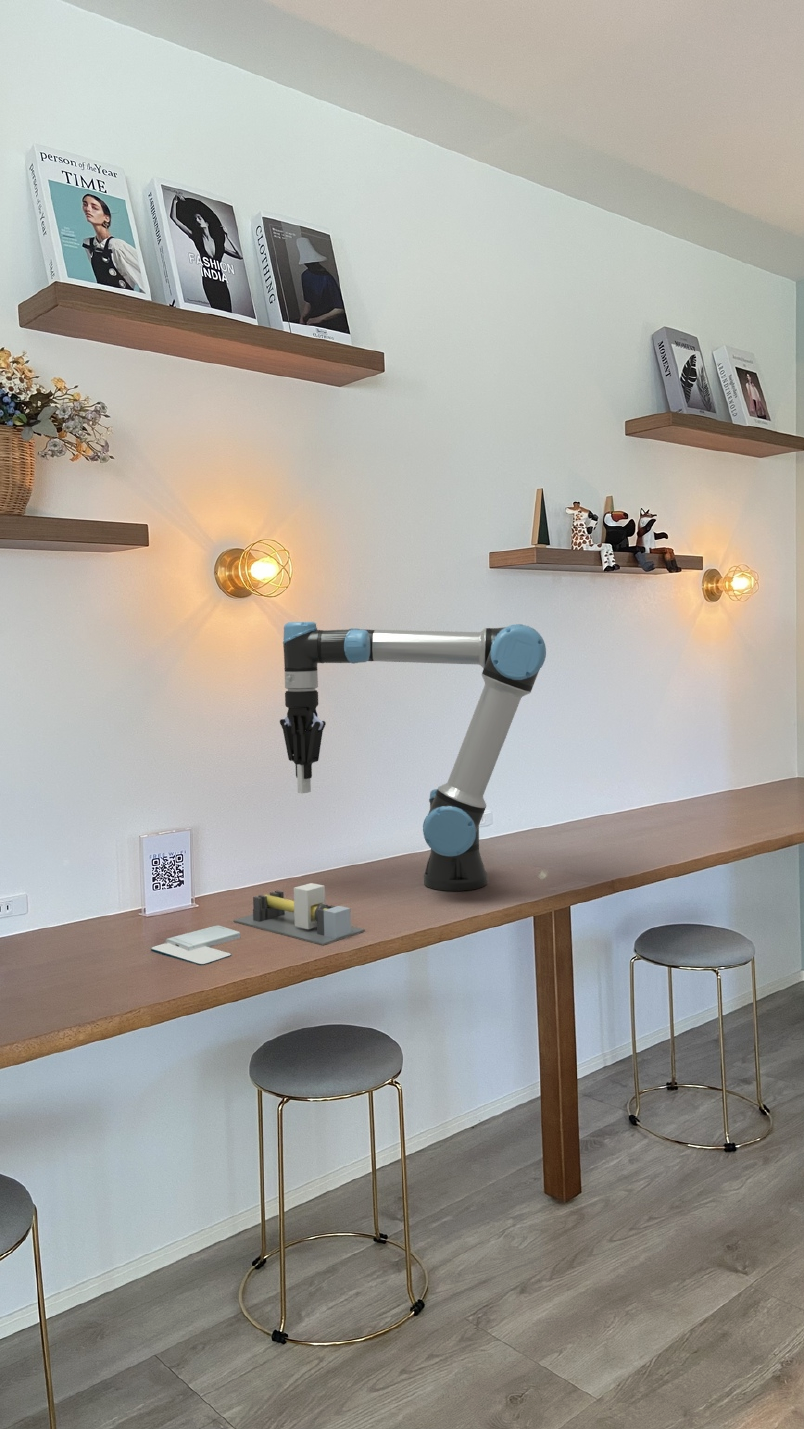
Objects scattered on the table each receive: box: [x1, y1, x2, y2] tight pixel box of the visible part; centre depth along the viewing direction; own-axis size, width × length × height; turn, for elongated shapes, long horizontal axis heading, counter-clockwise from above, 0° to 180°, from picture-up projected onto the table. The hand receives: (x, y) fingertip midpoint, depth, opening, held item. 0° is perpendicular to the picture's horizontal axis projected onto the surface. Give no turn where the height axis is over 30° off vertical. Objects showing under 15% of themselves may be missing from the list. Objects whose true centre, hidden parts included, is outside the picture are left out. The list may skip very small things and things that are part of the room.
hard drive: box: [164, 924, 241, 951], centre depth 213 cm, size 2×8×12 cm
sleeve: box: [293, 882, 326, 929], centre depth 219 cm, size 4×5×8 cm
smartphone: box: [150, 942, 232, 966], centre depth 205 cm, size 8×1×16 cm
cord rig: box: [233, 890, 366, 946], centre depth 221 cm, size 27×12×6 cm, turn 49°
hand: (304, 792), depth 243 cm, fingers closed
